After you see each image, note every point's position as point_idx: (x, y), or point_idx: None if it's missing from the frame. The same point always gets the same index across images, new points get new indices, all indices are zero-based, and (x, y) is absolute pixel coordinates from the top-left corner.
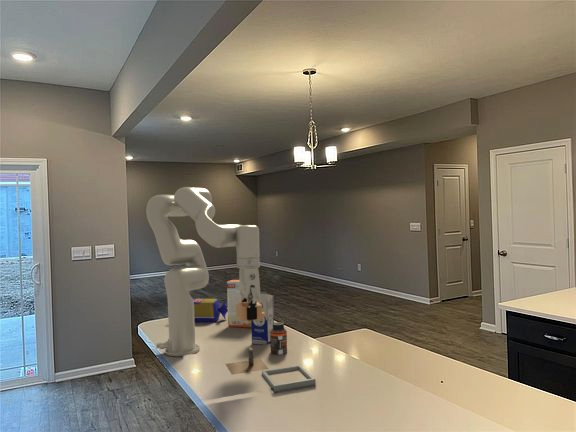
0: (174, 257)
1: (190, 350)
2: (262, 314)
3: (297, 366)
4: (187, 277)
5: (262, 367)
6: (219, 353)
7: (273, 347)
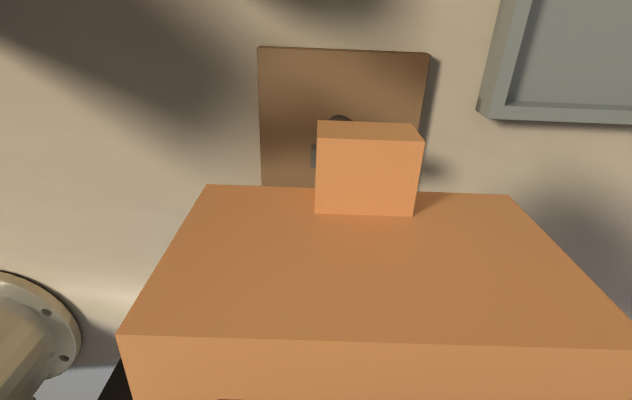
0: None
1: (40, 314)
2: (415, 175)
3: None
4: None
5: (397, 82)
6: (65, 203)
7: None
